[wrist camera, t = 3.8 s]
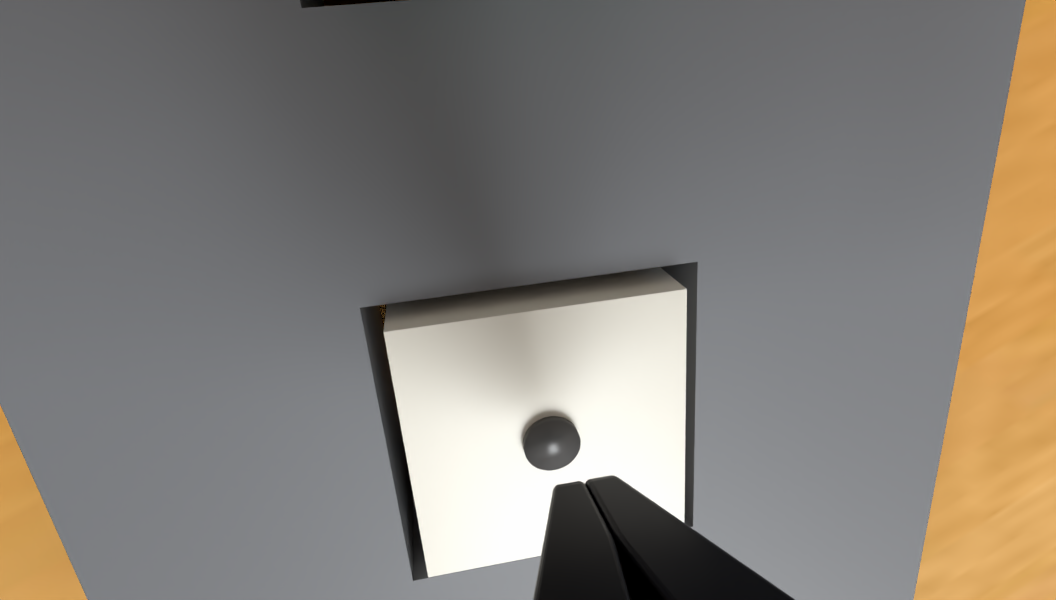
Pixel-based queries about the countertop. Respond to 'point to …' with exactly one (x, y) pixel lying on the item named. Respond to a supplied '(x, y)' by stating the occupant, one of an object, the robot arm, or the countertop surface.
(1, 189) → the button board
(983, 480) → the countertop surface
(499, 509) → the one-dot button
